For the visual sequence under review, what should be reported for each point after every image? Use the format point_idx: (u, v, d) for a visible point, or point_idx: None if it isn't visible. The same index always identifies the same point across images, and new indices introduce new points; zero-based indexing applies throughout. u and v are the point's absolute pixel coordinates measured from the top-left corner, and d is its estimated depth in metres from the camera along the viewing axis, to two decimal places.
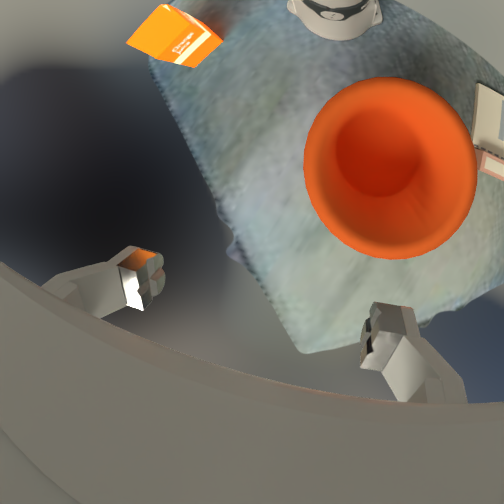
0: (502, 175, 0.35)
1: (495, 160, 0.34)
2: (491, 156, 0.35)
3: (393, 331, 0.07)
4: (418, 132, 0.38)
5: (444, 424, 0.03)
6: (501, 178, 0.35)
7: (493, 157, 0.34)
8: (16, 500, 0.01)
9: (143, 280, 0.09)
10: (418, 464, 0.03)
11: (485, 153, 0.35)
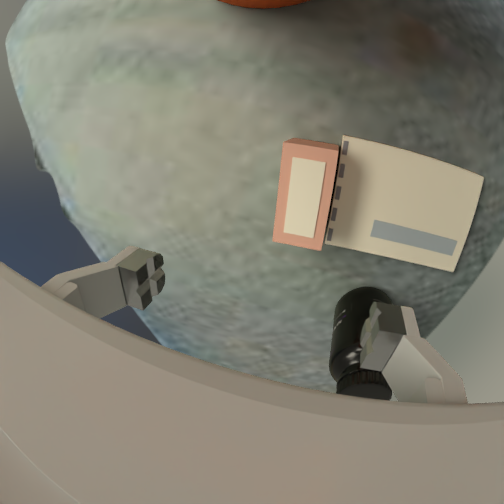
0: (287, 224, 0.21)
1: (320, 194, 0.20)
2: (329, 180, 0.19)
3: (393, 331, 0.07)
4: None
5: (444, 424, 0.03)
6: (278, 221, 0.22)
7: (327, 188, 0.19)
8: (16, 500, 0.01)
9: (143, 280, 0.09)
10: (418, 464, 0.03)
11: (332, 158, 0.18)
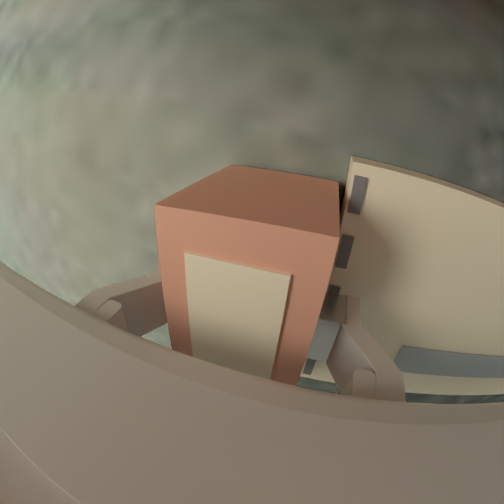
0: None
1: (275, 352, 0.07)
2: (300, 323, 0.06)
3: (331, 319, 0.08)
4: None
5: (444, 424, 0.03)
6: None
7: (296, 340, 0.07)
8: (16, 500, 0.01)
9: None
10: (418, 464, 0.03)
11: (316, 262, 0.05)
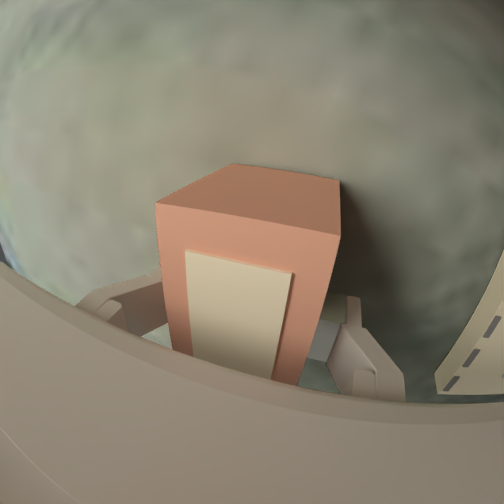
0: None
1: (276, 351, 0.07)
2: (301, 322, 0.06)
3: (331, 319, 0.08)
4: None
5: (444, 424, 0.03)
6: None
7: (297, 338, 0.07)
8: (16, 500, 0.01)
9: None
10: (418, 464, 0.03)
11: (317, 260, 0.05)
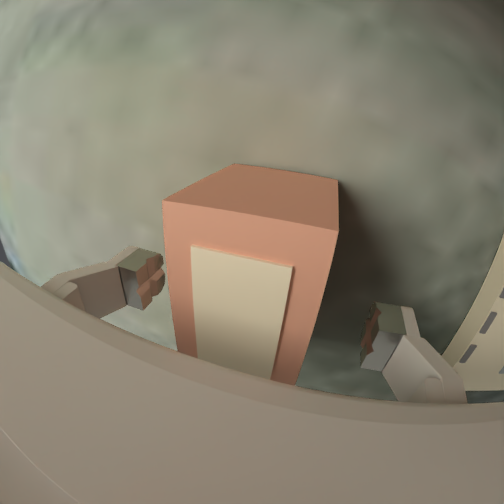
0: None
1: (278, 343, 0.07)
2: (301, 314, 0.07)
3: (393, 331, 0.07)
4: None
5: (444, 424, 0.03)
6: None
7: (297, 331, 0.07)
8: (16, 500, 0.01)
9: (143, 280, 0.09)
10: (418, 464, 0.03)
11: (317, 254, 0.06)
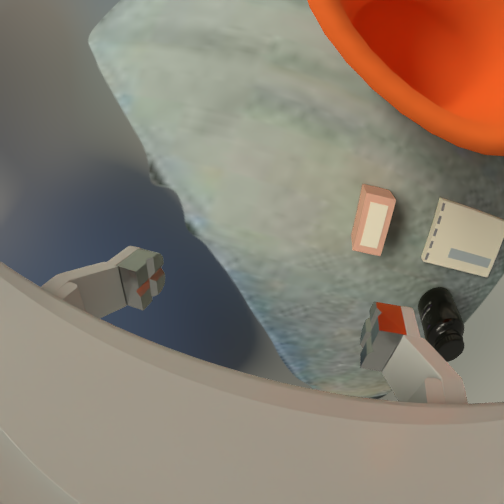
0: (363, 240, 0.34)
1: (384, 223, 0.32)
2: (389, 216, 0.32)
3: (393, 331, 0.07)
4: (465, 99, 0.21)
5: (444, 424, 0.03)
6: (357, 238, 0.34)
7: (387, 220, 0.32)
8: (16, 500, 0.01)
9: (143, 280, 0.09)
10: (418, 464, 0.03)
11: (392, 203, 0.31)
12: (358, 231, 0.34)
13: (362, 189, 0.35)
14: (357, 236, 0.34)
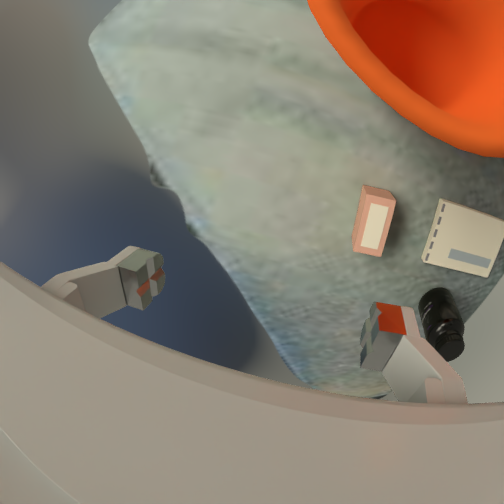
0: (363, 241, 0.34)
1: (384, 224, 0.32)
2: (389, 217, 0.32)
3: (393, 331, 0.07)
4: (465, 100, 0.21)
5: (444, 424, 0.03)
6: (358, 239, 0.34)
7: (388, 221, 0.32)
8: (16, 500, 0.01)
9: (143, 280, 0.09)
10: (418, 464, 0.03)
11: (392, 204, 0.31)
12: (358, 232, 0.34)
13: (362, 190, 0.35)
14: (358, 237, 0.34)
